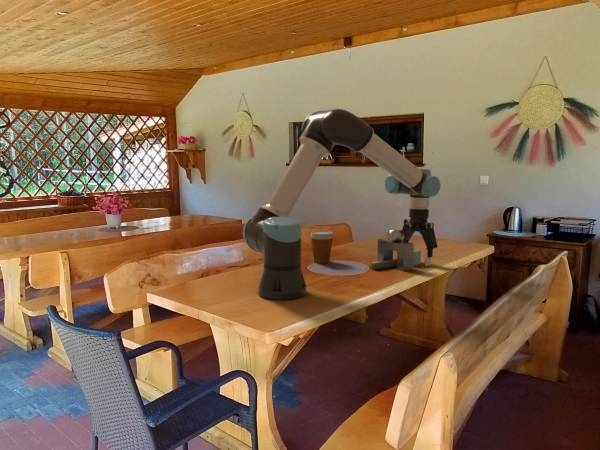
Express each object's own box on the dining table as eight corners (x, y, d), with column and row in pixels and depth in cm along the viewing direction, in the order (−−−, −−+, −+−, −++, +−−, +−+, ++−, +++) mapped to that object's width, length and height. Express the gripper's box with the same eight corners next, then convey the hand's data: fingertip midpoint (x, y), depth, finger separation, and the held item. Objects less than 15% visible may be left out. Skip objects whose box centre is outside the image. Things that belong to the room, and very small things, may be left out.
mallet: (378, 271, 182) (378, 257, 181) (368, 268, 187) (368, 254, 186) (420, 264, 194) (421, 250, 193) (410, 261, 198) (410, 248, 197)
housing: (403, 271, 183) (404, 233, 180) (377, 263, 195) (378, 227, 193) (412, 269, 185) (414, 231, 183) (386, 262, 197) (387, 226, 195)
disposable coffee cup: (331, 264, 193) (332, 234, 191) (308, 263, 195) (308, 233, 193) (335, 259, 202) (335, 230, 200) (312, 258, 204) (312, 230, 202)
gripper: (449, 210, 186) (446, 267, 189) (404, 205, 205) (402, 256, 208) (435, 211, 182) (432, 269, 185) (391, 205, 201) (388, 257, 204)
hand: (416, 262), depth 196 cm, fingers open, 11 cm apart
